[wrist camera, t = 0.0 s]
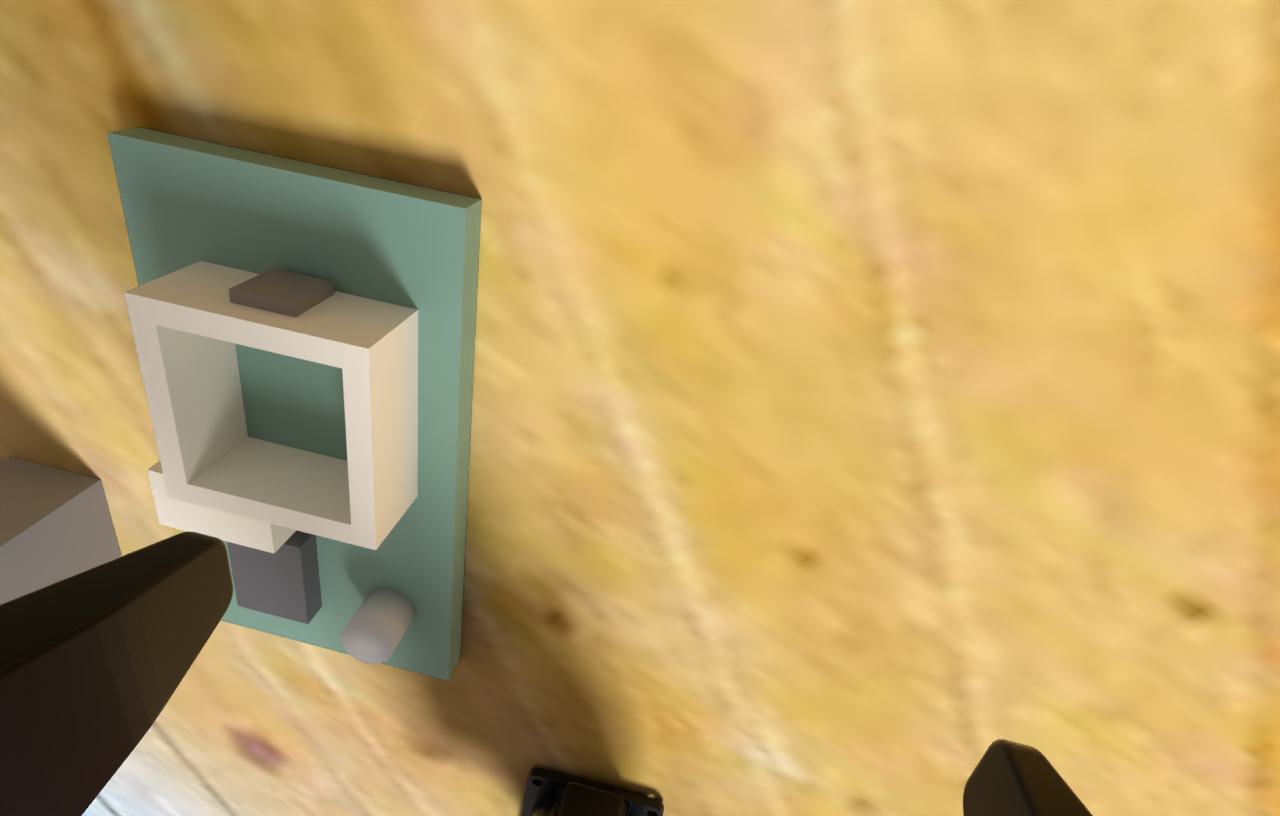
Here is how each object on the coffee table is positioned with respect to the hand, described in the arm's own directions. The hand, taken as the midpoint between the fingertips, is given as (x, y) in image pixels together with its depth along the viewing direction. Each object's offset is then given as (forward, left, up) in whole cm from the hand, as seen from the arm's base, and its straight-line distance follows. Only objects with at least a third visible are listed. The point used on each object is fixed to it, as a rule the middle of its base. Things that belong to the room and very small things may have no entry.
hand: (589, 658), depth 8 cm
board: (-9, +12, -15) cm, 21 cm away
